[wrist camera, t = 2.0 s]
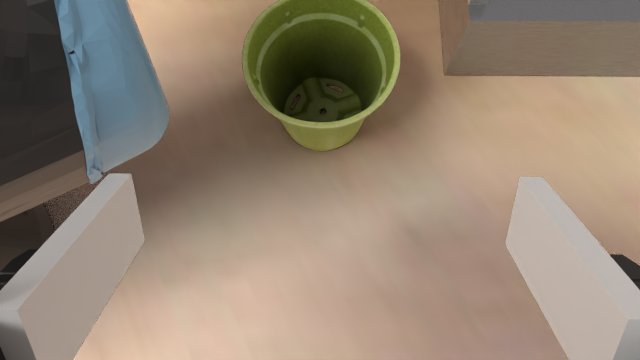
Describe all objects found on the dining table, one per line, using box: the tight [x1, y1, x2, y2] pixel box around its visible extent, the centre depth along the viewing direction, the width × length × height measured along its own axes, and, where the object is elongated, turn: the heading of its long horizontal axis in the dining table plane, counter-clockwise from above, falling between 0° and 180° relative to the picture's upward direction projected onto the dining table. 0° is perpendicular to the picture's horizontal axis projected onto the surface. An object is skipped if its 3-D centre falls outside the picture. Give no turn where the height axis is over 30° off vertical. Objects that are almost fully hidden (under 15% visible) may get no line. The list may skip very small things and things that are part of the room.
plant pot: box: [242, 0, 401, 151], centre depth 32 cm, size 9×9×9 cm
